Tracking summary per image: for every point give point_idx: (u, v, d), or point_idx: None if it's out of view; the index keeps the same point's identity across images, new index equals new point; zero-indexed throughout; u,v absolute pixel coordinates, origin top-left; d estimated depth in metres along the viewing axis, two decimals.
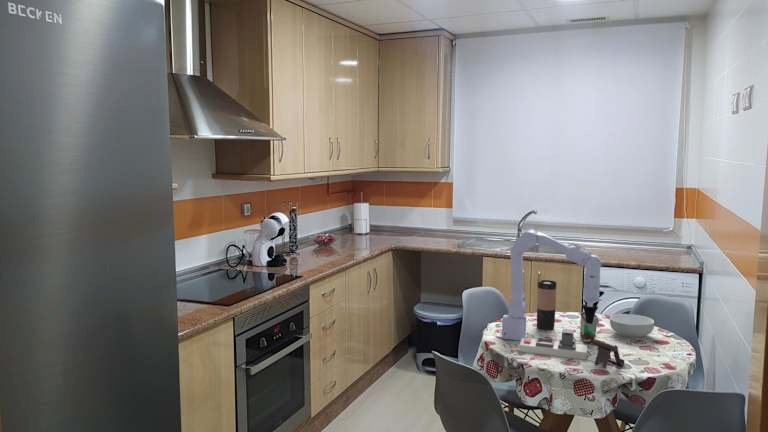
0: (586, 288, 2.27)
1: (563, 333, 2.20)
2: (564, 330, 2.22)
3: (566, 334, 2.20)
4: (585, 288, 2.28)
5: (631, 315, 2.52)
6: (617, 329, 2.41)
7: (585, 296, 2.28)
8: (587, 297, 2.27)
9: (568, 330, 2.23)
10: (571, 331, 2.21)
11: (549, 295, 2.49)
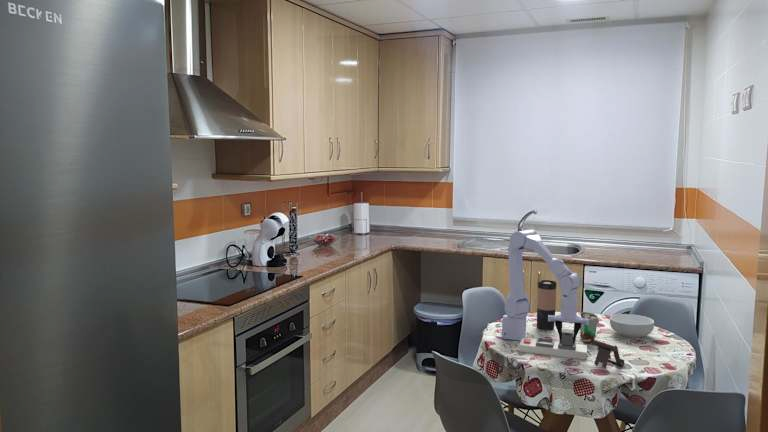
0: None
1: (563, 333, 2.20)
2: (564, 330, 2.22)
3: (566, 334, 2.20)
4: None
5: (631, 315, 2.52)
6: (617, 329, 2.41)
7: None
8: None
9: (568, 330, 2.23)
10: (571, 331, 2.21)
11: (549, 295, 2.49)
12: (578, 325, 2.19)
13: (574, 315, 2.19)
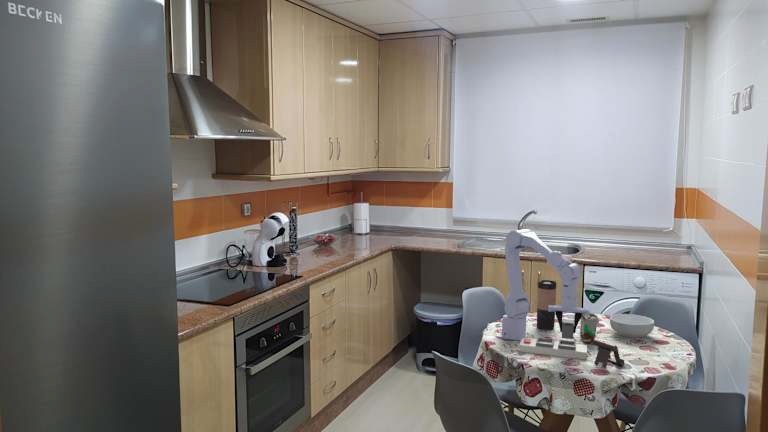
0: None
1: (563, 323, 2.20)
2: (564, 320, 2.22)
3: (566, 324, 2.19)
4: None
5: (631, 315, 2.52)
6: (617, 329, 2.41)
7: None
8: None
9: (569, 320, 2.22)
10: (571, 321, 2.21)
11: (549, 295, 2.49)
12: (578, 315, 2.18)
13: (574, 305, 2.18)
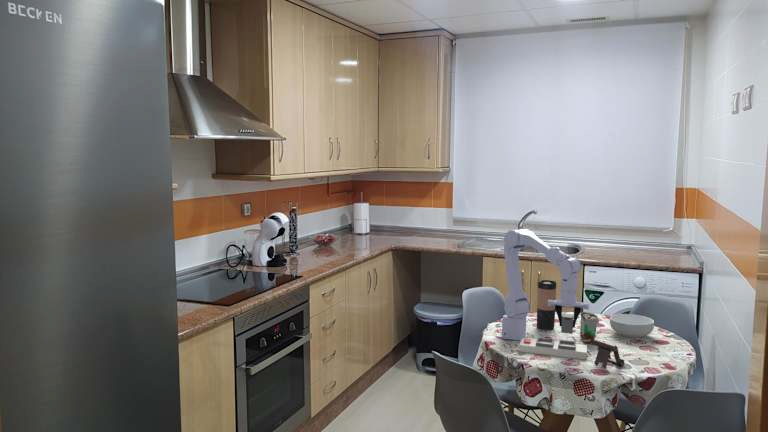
0: None
1: (563, 317, 2.19)
2: (564, 315, 2.21)
3: (566, 318, 2.19)
4: None
5: (631, 315, 2.52)
6: (617, 329, 2.41)
7: None
8: None
9: (568, 315, 2.22)
10: (571, 316, 2.20)
11: (549, 295, 2.49)
12: (578, 309, 2.18)
13: (574, 299, 2.18)
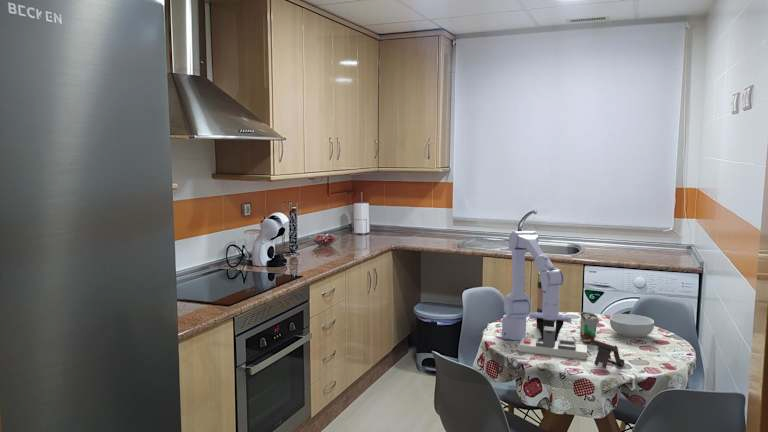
0: None
1: (545, 331, 2.12)
2: (546, 328, 2.15)
3: (548, 332, 2.12)
4: None
5: (631, 315, 2.52)
6: (617, 329, 2.41)
7: None
8: None
9: (550, 328, 2.15)
10: (553, 329, 2.13)
11: None
12: (560, 323, 2.11)
13: (556, 312, 2.11)
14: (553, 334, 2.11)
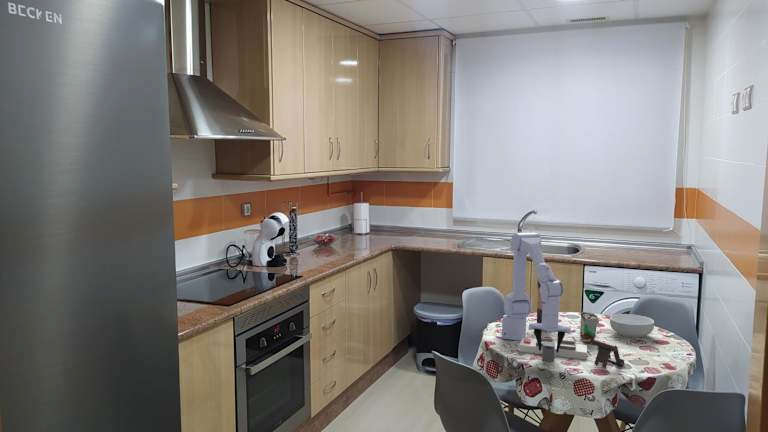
0: None
1: (544, 346, 2.13)
2: (545, 343, 2.15)
3: (547, 347, 2.12)
4: None
5: (631, 315, 2.52)
6: (617, 329, 2.41)
7: None
8: None
9: (549, 343, 2.15)
10: (552, 344, 2.14)
11: None
12: (559, 334, 2.11)
13: (555, 323, 2.11)
14: (552, 349, 2.12)
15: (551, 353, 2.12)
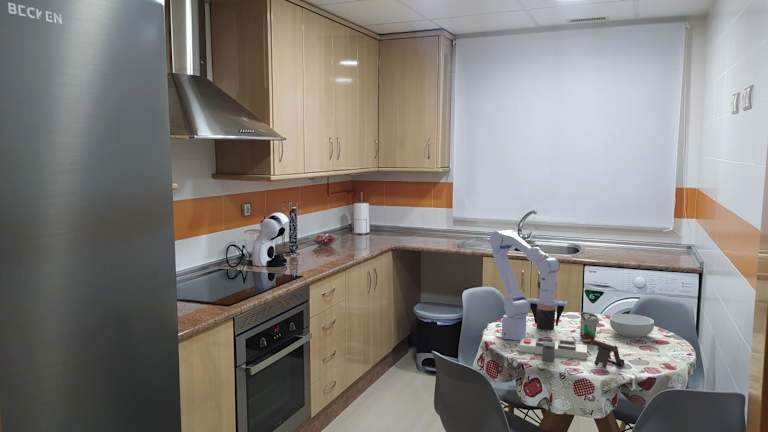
0: None
1: (544, 346, 2.13)
2: (545, 343, 2.15)
3: (547, 347, 2.12)
4: None
5: (631, 315, 2.52)
6: (617, 329, 2.41)
7: None
8: None
9: (549, 343, 2.15)
10: (552, 344, 2.14)
11: None
12: None
13: (553, 298, 2.24)
14: (552, 349, 2.12)
15: (551, 353, 2.12)
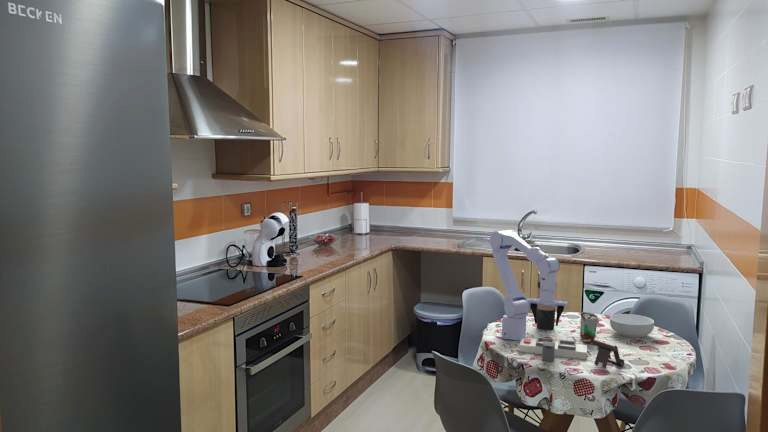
0: None
1: (544, 346, 2.13)
2: (545, 343, 2.15)
3: (547, 347, 2.12)
4: None
5: (631, 315, 2.52)
6: (617, 329, 2.41)
7: None
8: None
9: (549, 343, 2.16)
10: (552, 344, 2.14)
11: None
12: None
13: (553, 298, 2.24)
14: (552, 349, 2.12)
15: (551, 353, 2.12)
